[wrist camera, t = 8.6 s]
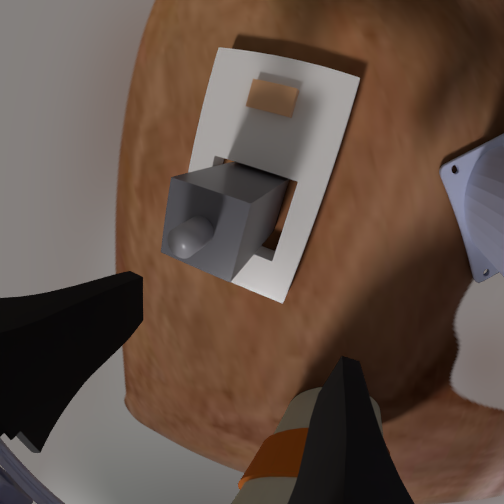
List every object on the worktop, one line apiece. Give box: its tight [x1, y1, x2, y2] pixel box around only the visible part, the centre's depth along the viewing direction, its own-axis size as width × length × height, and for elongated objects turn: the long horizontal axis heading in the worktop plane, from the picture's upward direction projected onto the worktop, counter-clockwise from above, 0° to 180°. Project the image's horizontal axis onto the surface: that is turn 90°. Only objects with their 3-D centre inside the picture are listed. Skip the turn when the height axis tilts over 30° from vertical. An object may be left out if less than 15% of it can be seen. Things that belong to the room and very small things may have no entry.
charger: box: [161, 162, 289, 282], centre depth 14 cm, size 4×4×8 cm
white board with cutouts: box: [188, 47, 360, 303], centre depth 16 cm, size 14×8×2 cm, turn 165°
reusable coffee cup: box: [231, 387, 390, 504], centre depth 16 cm, size 13×13×15 cm
